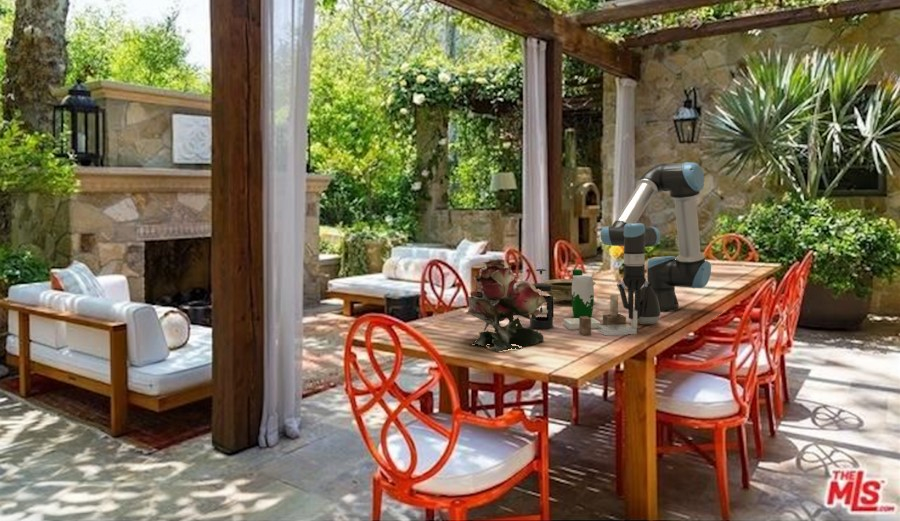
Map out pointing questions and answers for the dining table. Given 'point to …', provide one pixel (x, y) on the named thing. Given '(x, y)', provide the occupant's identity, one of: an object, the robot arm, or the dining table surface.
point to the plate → (617, 329)
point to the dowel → (613, 305)
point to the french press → (543, 321)
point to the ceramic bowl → (561, 289)
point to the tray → (574, 323)
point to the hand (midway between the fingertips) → (634, 327)
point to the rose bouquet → (504, 306)
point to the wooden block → (585, 325)
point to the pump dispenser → (649, 308)
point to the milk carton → (582, 294)
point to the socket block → (614, 320)
